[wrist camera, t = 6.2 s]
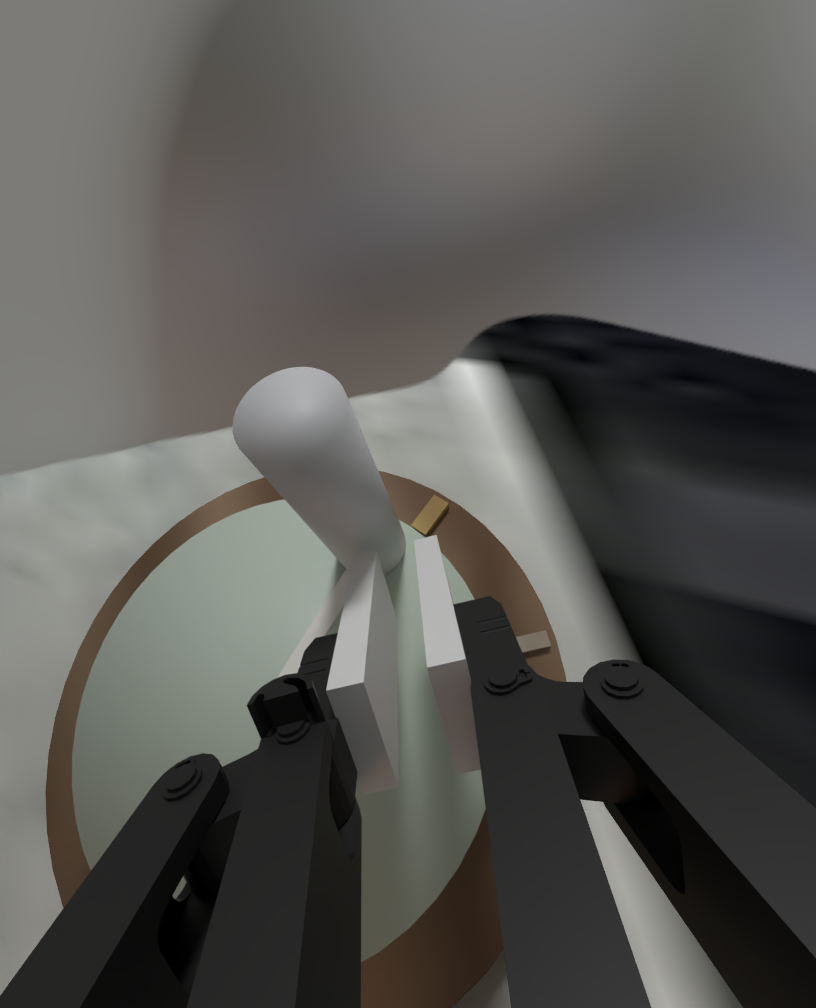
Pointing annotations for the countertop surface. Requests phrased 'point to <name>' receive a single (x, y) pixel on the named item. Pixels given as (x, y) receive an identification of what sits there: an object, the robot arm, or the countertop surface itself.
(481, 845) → the walnut base
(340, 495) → the capstan dial
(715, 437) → the countertop surface
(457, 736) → the robot arm
